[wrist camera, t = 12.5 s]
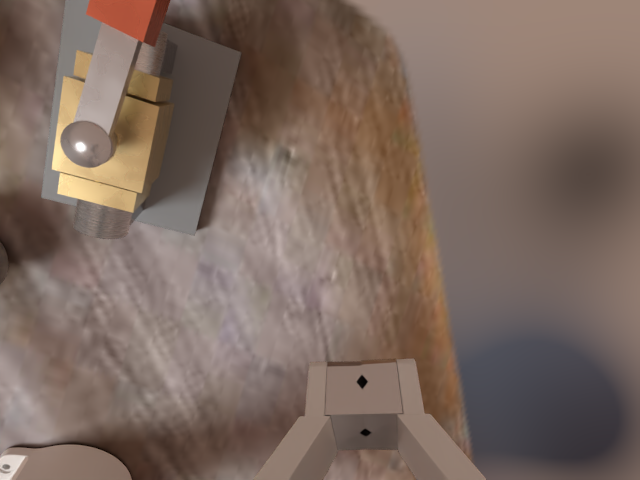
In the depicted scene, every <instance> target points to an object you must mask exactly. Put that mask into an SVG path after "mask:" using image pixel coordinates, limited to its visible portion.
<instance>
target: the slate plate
mask: <svg viewBox="0 0 640 480" xmlns="http://www.w3.org/2000/svg"><path fill="white" fill-rule="evenodd" d="M88 4H89V0H66V1H65V9H64V17H63V25H62V33H61V41H60V49H59V57H58V65H57V73H56V81H55V89H54V97H53V105H52V113H51V122H50V130H49V138H48V146H47V154H46V162H45V170H44V178H43V186H42V194H41V198H45V199H49V200H53V201H57V202H61V203H65V204H69V205H73V206H76V204H77V198H73V197H69V196H65V195H61V194H57V191H58V184H59V177H60V171H56V170H52V162H53V154H54V147H55V139H56V131H57V123H58V116H59V108H60V100H61V92H62V85H63V77H64V76H75V75H73V74H74V67H75V59H76V52H77V50H80V51H84V52H89V53H93V52H94V48H95V45H96V41H97V38H98V34H99V31H100V27H101V24H102V22H101V21H99V20H97V19H95V18H93V17H91V16H89V15H87V14H86V11H87V8H88ZM161 31H163V32H165V33H167V34H168V35H167V39H168V40H169V41H171V42H173V43H174V44H176V45H178V46H177V51H176V56H175V61H174V66H173V70H172V74H169V73H164V72H160V75H161V76H164V77H166V78H169V79H172V80H173V84H172V89H171V94H170V99H169V100H165V101H168V102H171V103H174V109H173V114H172V118H171V123H170V128H169V132H168V137H167V142H166V146H165V151H164V156H163V160H162V165H161V170H160V174H159V177H158V178H157V179H156V180H155V181H154V182H153V183H152V184H151V189H150V194H149V196H148V197H147V198H146V200H145V205H144V210H143V211H142V212H141V214H140V215H139V216H138V217H137V218H136V219H135V220H134V221H138V222H142V223H146V224H150V225H154V226H158V227H162V228H166V229H170V230H174V231H178V232H182V233H186V234H190V235H194V236H195V233H196V230H197V226H198V222H199V218H200V214H201V210H202V206H203V203H204V199H205V195H206V191H207V187H208V183H209V179H210V175H211V171H212V167H213V163H214V159H215V155H216V152H217V148H218V144H219V140H220V136H221V132H222V128H223V124H224V120H225V116H226V112H227V108H228V104H229V100H230V97H231V93H232V89H233V85H234V81H235V77H236V73H237V69H238V65H239V61H240V57H241V52H239V51H236V50H233V49H231V48H228V47H226V46H223V45H220V44H218V43H215V42H212V41H210V40H207V39H205V38H202V37H199V36H197V35H194V34H191V33H189V32H186V31H184V30H181V29H178V28H176V27H173V26H170V25H168V24H165V23H163V24H162V27H161ZM75 77H78V76H75Z"/></svg>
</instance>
